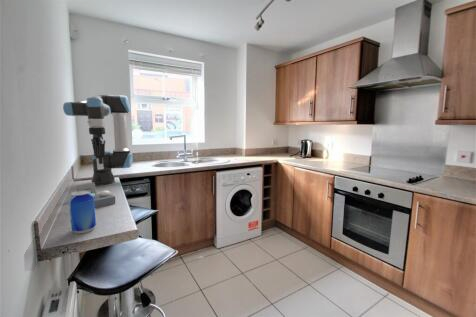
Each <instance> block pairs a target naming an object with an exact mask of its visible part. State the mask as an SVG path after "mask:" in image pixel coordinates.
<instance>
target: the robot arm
mask: <svg viewBox="0 0 476 317" xmlns="http://www.w3.org/2000/svg"><path fill="white" fill-rule="evenodd" d="M62 106H63V108H62V109H63V110H62V111H63V113H64V114H65V116H69V117H87V124H88V127H89V128H88V132H89V135H92V138H91V139H90V140H91V144H92V149H93V150H92V151H93V154H92V156H91V157H92V169H93V174H92V176H91V183H95V186H98V184H104V185H109V184H108V183H110V184H113V183H115V182H114V181H116V179H115V177H114V174H113V171H112V170H113V169H130V168H131V167H132V166H133V165H132V164H133V161H134V158H133V157H134V156H133V155H134V154H133V152H131V150H130V149H129V146H128V129H127V128H128V127H127V125H128V124H127V116H128V115H129V112H131V104H130V100H129V98H128V96H126V95H122V94H99V95H95V96H91V97H87V98H86V99H85V100H80V101H67V102H64V103H63V105H62ZM110 114H111V115H112V119H113V120H112V122H113V136H114V138H113V140H114V149H113V150H112V152H111V151H110V150H107V151H106V149H105V148H106V140H105V139H104V137H103V135H105V134H106V127H105V126H106V123H105V117H107V116H108V115H110ZM112 182H113V183H112Z"/></svg>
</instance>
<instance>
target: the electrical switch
mask: <svg viewBox="0 0 476 317" xmlns="http://www.w3.org/2000/svg"><path fill="white" fill-rule="evenodd" d="M75 188H76V191H82V190H89V191H91V192H90V193H95V194H98V192H97V188H96V185H95V183H92V182H89V183H88V182H87V183H84V184H83V183H81V184H77V185H76V186H75Z"/></svg>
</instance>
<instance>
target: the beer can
mask: <svg viewBox="0 0 476 317" xmlns="http://www.w3.org/2000/svg"><path fill="white" fill-rule="evenodd" d="M90 192H91V191H89V190H82V191H77V190H76V191H73V192H71V194H70V197H69V198H68V206H69V215H70V216H69V217H70V226H71V231H73V233H75V234H77V233H78V234H86V233H89V232H92V231H93V230H94V229H95V227H96V226H97V221H96V208H95V206H94V196H93V195H92V194H91V193H90ZM91 230H92V231H91Z"/></svg>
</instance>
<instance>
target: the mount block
mask: <svg viewBox="0 0 476 317" xmlns="http://www.w3.org/2000/svg"><path fill="white" fill-rule="evenodd" d="M113 204H114V205H115V204H116V196H115V195H113V194H111V193H109V195H108V196H104V197H103V196H100V193H97V194H95V198H94V206H95V209H99V208H102V207H106V206H110V205H113Z"/></svg>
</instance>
